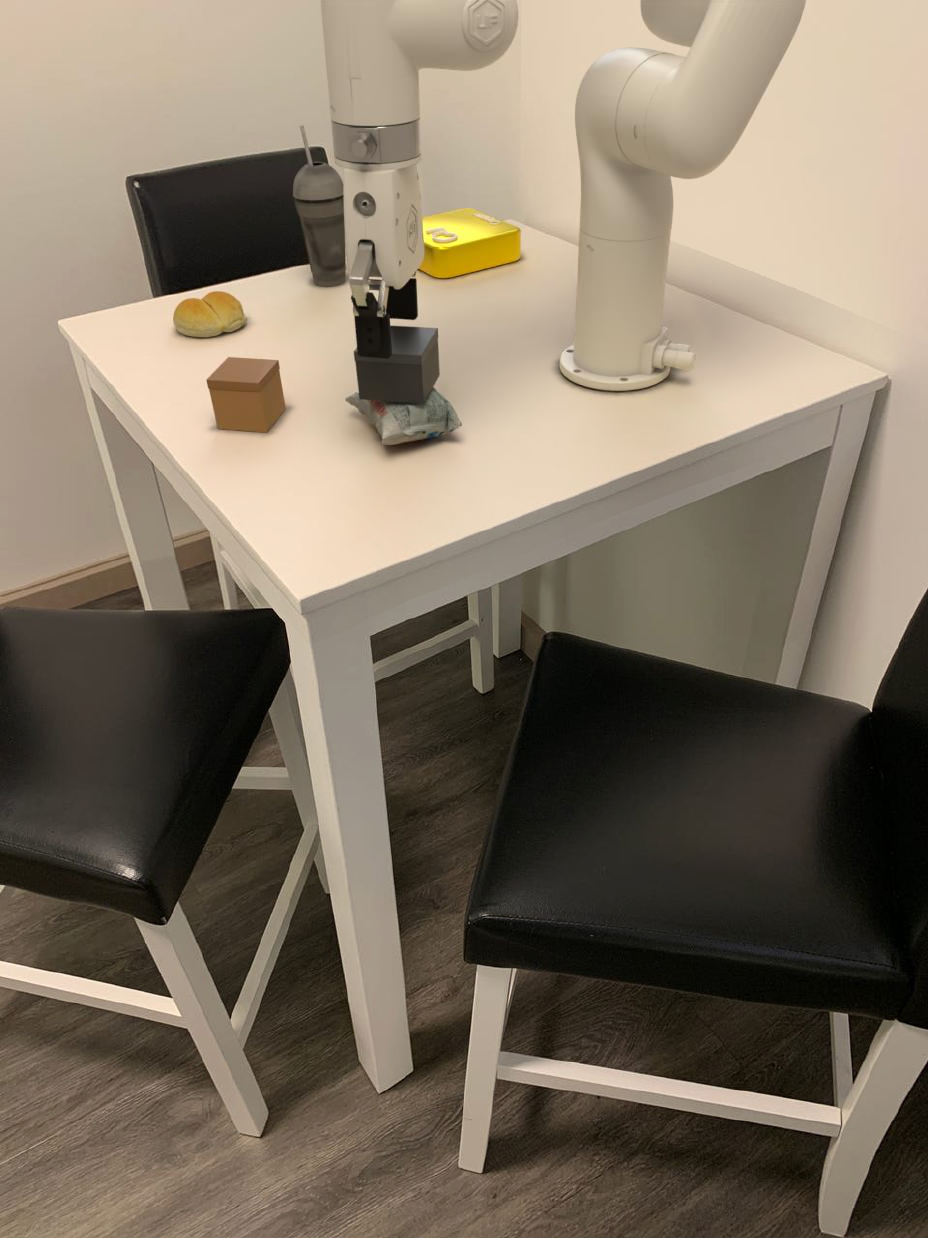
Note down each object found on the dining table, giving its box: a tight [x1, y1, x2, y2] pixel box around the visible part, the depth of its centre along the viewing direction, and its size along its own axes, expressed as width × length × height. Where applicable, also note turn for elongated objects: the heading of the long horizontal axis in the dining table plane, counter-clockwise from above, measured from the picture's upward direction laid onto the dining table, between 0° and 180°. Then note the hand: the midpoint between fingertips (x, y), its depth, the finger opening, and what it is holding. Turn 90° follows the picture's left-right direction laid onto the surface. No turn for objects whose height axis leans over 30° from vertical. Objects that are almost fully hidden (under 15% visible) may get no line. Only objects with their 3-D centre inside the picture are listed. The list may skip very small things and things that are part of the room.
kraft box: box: [205, 356, 287, 434], centre depth 98 cm, size 6×6×6 cm
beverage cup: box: [292, 125, 347, 288], centre depth 126 cm, size 7×7×20 cm
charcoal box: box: [353, 325, 441, 404], centre depth 92 cm, size 7×7×5 cm
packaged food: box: [345, 386, 463, 446], centre depth 96 cm, size 9×12×5 cm
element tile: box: [417, 207, 522, 279], centre depth 138 cm, size 15×15×5 cm
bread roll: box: [172, 290, 248, 338], centre depth 119 cm, size 8×9×4 cm
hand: (389, 336), depth 90 cm, fingers open, 9 cm apart
